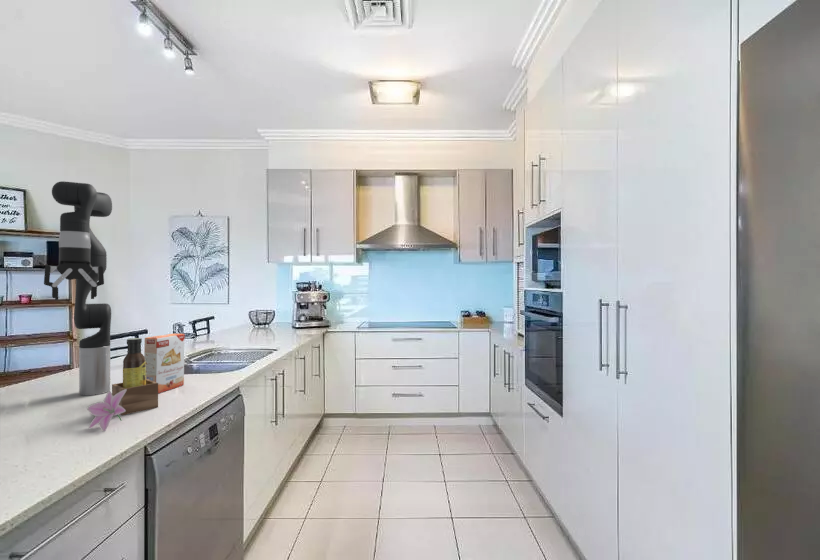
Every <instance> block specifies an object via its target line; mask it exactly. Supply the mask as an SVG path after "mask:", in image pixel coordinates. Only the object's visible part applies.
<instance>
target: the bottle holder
mask: <svg viewBox="0 0 820 560" xmlns="http://www.w3.org/2000/svg"><path fill="white" fill-rule="evenodd" d="M125 389H127V391H126V392H125V394H124V396H123V397H122V399H121V401H120V403H119V405H120V406H122V407H123V408H124V409H125V410H126V411H125V412H123V413H121V414H120V415H122V416H126V415H129V414H133V413H140V412H143V411H147V410H152V409H157V408H159V393H158V383H157V382H154V381H151V380H149V379H146V385H142V386H136V387H130V388H123V382H117V383H114V384H113V383H112V384H111V393H112V395H113V396H114V395H115V394H117V393H119V392H120V391H122V390H125Z"/></svg>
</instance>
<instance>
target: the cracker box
mask: <svg viewBox="0 0 820 560" xmlns="http://www.w3.org/2000/svg"><path fill="white" fill-rule="evenodd" d="M185 335H186V334H185V333H169V334H168V333H167V334H162V335H154V336H149V337H144V348H143V349H144V350H143V351H144V354H143V356H144V357H145V360H146V379H149V380H151V381H154V382H157V383H158V394H160V393H163V392H167V391H169V390H173V389H176V388H179V386H180V387H182V385H183V386H184V385H185V384H184V383H185V379H184V378H185V341H186V339H185Z"/></svg>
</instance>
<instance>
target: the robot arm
mask: <svg viewBox="0 0 820 560" xmlns="http://www.w3.org/2000/svg"><path fill="white" fill-rule="evenodd" d="M51 195H52V197H53V199H54V201H55V202H56V203H58V204H60V205H62V206H71V207H73V210H74V211H70V212H69V211H67V212H63V213H61V214H60V217H59V222H60V223H59V237H58V265H48V264H47V265H45V268H44V275H43V276H44V278H43V284H44V286H47V287H50V288H51V297H52V298H53V299H55V301H58V300H59V287H58V285H60V284H61V283H63V281H64V280H65V279H66V280H69V281H72V280H75V296H74V297H75V299H74V313H73V321H74V326H75V328H76V329H77V330H78V329H79V330H89V329H91V330H92V329H99V331H98V332H96V333H94V334H91V336H87V337H84V338H81V339H80V340H79V343H78V345H79V346H78V347H79V350H78V352H79V353H78V356H79V357H78V358H79V359H78V361H79V362H78V368H79V369H78V394H80V396H95V394H96V395H100V394H104V393H108V392H109V391H110V392H111V324H112V308H111V305H110V304H109V303H87V298H88V296H89V294H90V300H94V299H95V298H97V296H98V287H99V286H102V285H104V284H105V278H104V274H105V273H106V270H107V263H108V261H107V259H108V258H107V256H108V255H107V251H106V248H105V247H104V246H103V244H102V242H100V240H99V239H98V238H97V236H96V235H95V234H94V232H93V230H92V229H91V228H90V222H91V221H90V220H91V217H92V218H93V217H94V218H95V217H96V218H106V217H109V216H111V213H112V211H113V201H112V198H111V196H110V194H107V193H105V192H99V191H98V192H97V189H96V188H95V187H94V186H93V184H89V183H84V182H75V181H74V182H73V181H65V180H63V181H58V182H55V184H54V185H53V186H52V188H51ZM54 271H58V272H59V273H60V276H59V277H58V278H57V279H56V280H55V281H54V282H51V281H50V278H51V277H50V276H51V274H52V273H54Z"/></svg>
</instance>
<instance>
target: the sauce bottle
mask: <svg viewBox="0 0 820 560" xmlns="http://www.w3.org/2000/svg"><path fill="white" fill-rule="evenodd" d="M142 340H143V339H142V338H141V337H135V338H134V337H133V338H132V337H131V338H127V339H126V344H127V345H126V346H127V351H126V352H127V354H125V355H126V356H125V357H124V359H123V361H122V363H123V365H122V383H123V388H130V387H136V386H142V385H146V360H145V357H144V354H143V353H142V342H143V341H142Z"/></svg>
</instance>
